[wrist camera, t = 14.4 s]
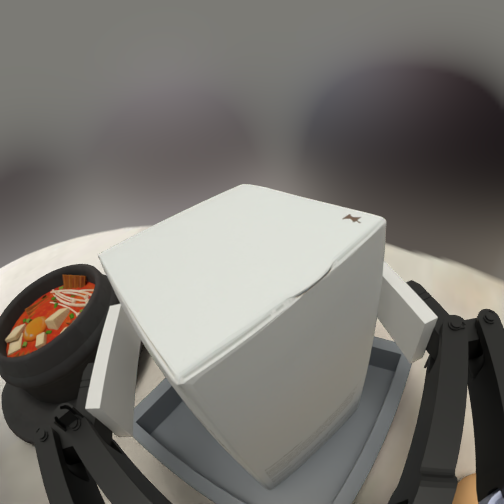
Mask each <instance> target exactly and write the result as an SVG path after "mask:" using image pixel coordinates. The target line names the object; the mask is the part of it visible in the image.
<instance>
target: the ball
mask: <svg viewBox="0 0 504 504" xmlns="http://www.w3.org/2000/svg"><path fill="white" fill-rule="evenodd" d="M452 504H478V500H477V492H476V473H474V474H471V475H469V476H467V477H465V478H463V479H462V480H461V481H460V482H459V483H458V484H457V489H456V492H455V496H454V499H453V502H452Z"/></svg>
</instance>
